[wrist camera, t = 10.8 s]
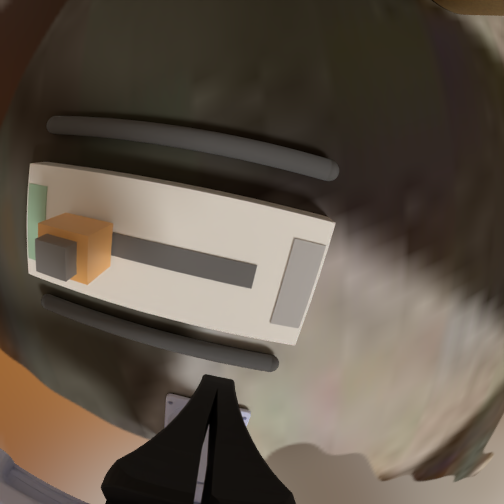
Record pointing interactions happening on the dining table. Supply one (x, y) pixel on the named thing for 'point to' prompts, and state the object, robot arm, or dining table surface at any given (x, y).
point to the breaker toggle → (73, 247)
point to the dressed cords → (197, 142)
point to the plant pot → (473, 6)
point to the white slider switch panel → (189, 249)
